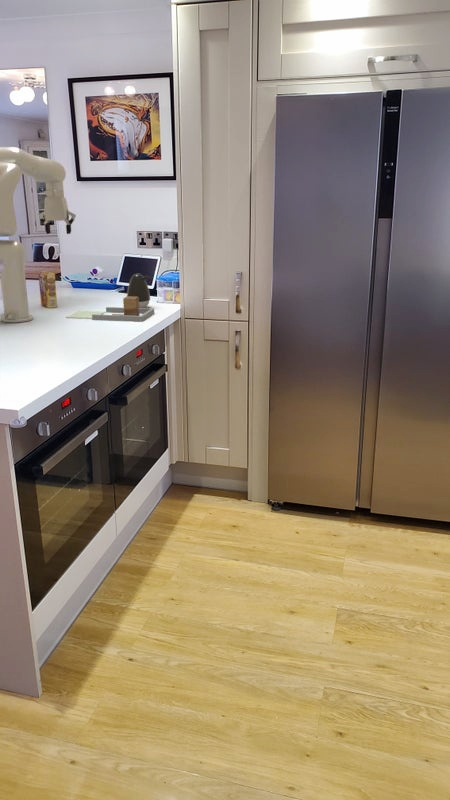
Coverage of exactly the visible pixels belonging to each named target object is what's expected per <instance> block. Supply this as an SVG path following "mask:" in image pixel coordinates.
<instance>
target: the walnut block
mask: <svg viewBox="0 0 450 800" xmlns="http://www.w3.org/2000/svg"><path fill="white" fill-rule="evenodd" d="M122 300H123V301H122V302H123V308H124V313H121V314H120V313H111V315H128V316H140V313H139V297H131V296H127V295H126V297H123V298H122Z"/></svg>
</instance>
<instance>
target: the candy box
mask: <svg viewBox="0 0 450 800" xmlns="http://www.w3.org/2000/svg"><path fill="white" fill-rule="evenodd" d="M38 283H39V284H38V285H39V295H40V296H39V297H40V306H41V307H44V308H48V309H55V308H58V301H57V286H56V274H55V273H54V272H50V271H45V270H44V271H38Z"/></svg>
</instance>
